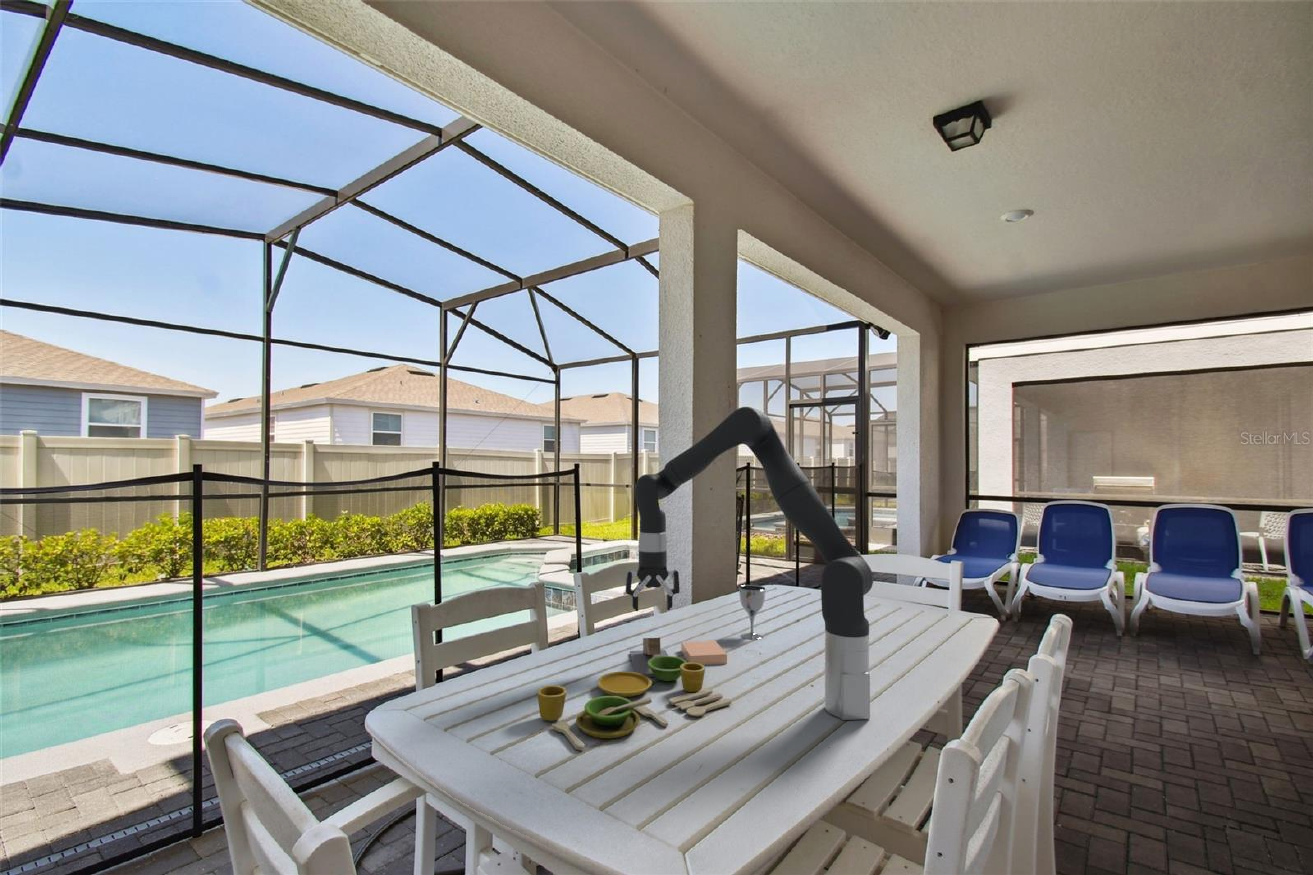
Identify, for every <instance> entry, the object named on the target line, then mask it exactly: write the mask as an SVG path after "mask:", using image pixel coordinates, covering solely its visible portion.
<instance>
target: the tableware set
mask: <svg viewBox="0 0 1313 875" xmlns="http://www.w3.org/2000/svg"><path fill="white" fill-rule="evenodd" d="M647 665H648V667H649V668H650V669H651V670H652V672H653V674H654V676H655V677H654V678H655V679H658V680H659V681H664V682H673V681H676V680H678V679H680V677H681V686H682V689H683V690H685V691H686V692H690V693H685V694H684V693H683V694H681V695H678V696H674V697H670V698H669V700H668V702H669V704H670V705H671V706H674V705H675V706H676V707H677V708H679V709H680V710H683V711H686V714H687V715H689V716H692V717H700V716H701V717H702V716H704V715H705V714H706V713H707V712H708V711H713V710H715V709H719V708H722V707H725V706H728V705H732V699H731V698H729V697H725V698H723V697H724V696H723V693H720V692H719V693H714V692H713V689H711V688H707V689H703V684H704V678H705V673H706V665H702V664H699V663H693V662H689V663H688V661H687V660H686V659H683V658H682V657H677V656H672V655H668V656H659V657H654V658H652V659H650V660H649V661H648V662H647ZM652 681H653V680H651V677H647V676H645V675H643V674H640V673H636V672H635V671H634V672H633V671H614V672H609V673H605V674H604V675H601V676H600V677H599V678H598V679H597V681H596V683H597V687H598V688H599V689H600V690H601V691H602V692H604V693H606V694H607V695H604V696H603V695H602V696H598V697H595V698H591V699H590V700H588V701H587V702H586V703H585V705H584V710H583V711H582V710H581V712H579V714H578V715H577V716H576V717H575V718H576V719H575V723H576V725H577V727H578V728H579V729H581V731H582V732H583V733H585V734H586V735H588V736H591V737H592V738H593V737H594V738H598V739H599V738H600V739H614V738H621V737H624V736H626V735H628V734H630V733H632V732H633V731H634V730H635V729H637V727H638V726H639V724H640V721H641V719H640V715H639V714H641V715H642V716H644V717H646V718H652V720H654V721H655V722H656V723H658V725H660V726H662V727H668V726H669V721H668V720H667V719H665V718H664V717H662V716H661V715H659V714H658V713H656V712H655V711H654V710H652V709H651V708H649V707H648V706H646V705H650V704H651V703H653V700H652V697H645V698H642V699H639V700H636V701H631V700H630V699H628V698H627V697H634V696H639V695H641V694H644V693H645V692H647V691H648V690H649V689H650V687H651V686H652V684H653V682H652ZM702 689H703V690H702ZM567 692H568V691H567V688H565V687H563V686H561V685H552V684H551V685H545V686H541V688H538V690H537V692H536V695H537V700H538V701H537V702H538V707H539V708H538V710H539V715H540V718H541V719H542V720H543V721H557V720H559V719H560V718H562V716H563V714H564V708H565V703H566V697H567ZM713 693H714V694H713ZM706 703H708V704H707V705H703V706H698V705H701V704H706ZM638 713H639V714H638ZM551 726H552V728H553V729H554V730H555V731H556V732H559V733H562V734H563V735H565V737H566V738H567V739H568V741H569V742H570V743H571V745H572V746H573V748H575V750H578V751H584V750H585V743H584V742H583V741H582V740H581V739H580V738H578V737H577V735H575V734H574V733H573V732H572V731H571V730H570V728H571V727H570V724H569V723H568V722H566V721H564V720H561V721H560V722H559V721H558V722H557V723H555V722H554V723H552V724H551Z"/></svg>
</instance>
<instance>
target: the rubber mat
mask: <svg viewBox="0 0 1313 875" xmlns="http://www.w3.org/2000/svg"><path fill="white" fill-rule="evenodd" d="M660 653H661V654H656V655H648V654H643V649H642V650H629V655H630V658H631V663H632V666H633V670H634V672H636V673H640V674H643V675H645V676H647V677H649V678H656V677H655V676H654V674H653V672H652V670H651V669H650V668H649V667H648V665H647V662H648V661H649V660H650V659H652V658H654V657H659V656H669V655H668V653H667V650H666V649H660Z"/></svg>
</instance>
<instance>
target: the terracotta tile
mask: <svg viewBox="0 0 1313 875" xmlns="http://www.w3.org/2000/svg"><path fill="white" fill-rule="evenodd" d="M680 652H681V653H682V654H683V656H684V658H685V660H686V661H687V663H689V662H693V663H699V664H702V665H704V666H711V665H712V666H713V665H727V664H728V653H727V652H726V651H725V650H724V648H722V647H721V645H720V644H719V643H718V642H717V640H704V641H703V640H701V641H700V640H699V641H681V642H680Z"/></svg>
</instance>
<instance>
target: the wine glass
mask: <svg viewBox="0 0 1313 875" xmlns="http://www.w3.org/2000/svg"><path fill="white" fill-rule="evenodd" d="M738 593H739V601H740V605H741V607H742V608H743V609H744V611H745V612H746V614H747V615H748V617H749V621H750V632H744V633H741V634H740V636H739V637H741V638H742V639H745V640H749V641H750V640H752V641H759V640H762V639H764V635H762V634H760V633H755V632H754V621H755V617H756V615H757V614H758V612H760V611H761V609H762V608H763V606H764V604H765V599H766V587H765V586H762V585H757V584H744V585H740V586H739V592H738Z"/></svg>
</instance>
